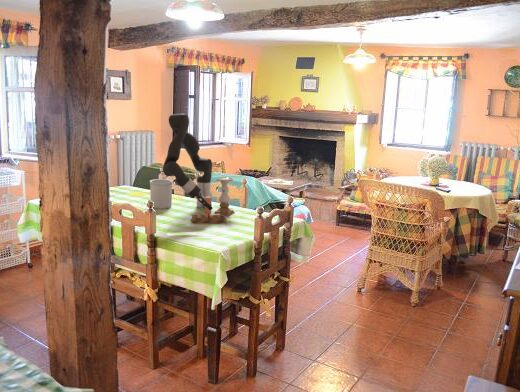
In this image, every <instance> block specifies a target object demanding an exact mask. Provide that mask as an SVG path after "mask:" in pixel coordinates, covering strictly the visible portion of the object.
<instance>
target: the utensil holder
mask: <svg viewBox="0 0 520 392" xmlns="http://www.w3.org/2000/svg"><path fill="white" fill-rule="evenodd" d="M149 187H150V188H149V190H150V192H149V194H150V201H151V200H152V201H153V202H154V208H153V209H160V210H162V209H169V208H171V207H172V204H173V203H172V200H173V199H172V198H173V180H171V179H167V178H155V179H151V180H149Z"/></svg>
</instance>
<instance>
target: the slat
mask: <svg viewBox="0 0 520 392" xmlns="http://www.w3.org/2000/svg"><path fill="white" fill-rule="evenodd" d="M205 199H206V201H207V202H208V204H209V205H210V206H211V205H212V197H205ZM205 203H206V202H205ZM211 207H212V206H211ZM204 214H208V216H209V214H212V210H209V209H208V208H207V207H206V206H205V208H204Z"/></svg>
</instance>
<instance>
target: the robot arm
mask: <svg viewBox="0 0 520 392" xmlns="http://www.w3.org/2000/svg"><path fill="white" fill-rule="evenodd" d="M168 124H169V127H170V129H171V130H172V131H173V133H174V134H175V137H173V139H172V140H171V142H170V143H169V145H168V148H167V149H168V150H167V156H166V157H165V160H164V163H163V164H162V165H163V166H162V172H163V174H164V175H165V177H171V176H174V178H175V182H176V184H177V185H178V186H180V188H181V189H182V190H183V191H184V192H185V193H186V194H187V195H188V196H189V197H190V198H191V199H194V198H196V208H199V209H200V208H201V209H205V206H206V207H207V208H208V209H209V210H211V211H212V210H213V206H212V204H211V206H210V205H209V204H208V202H207V201H206V199H205V197H211V198H212V196H213V195H212V194H213V193H212V191H211V187H212V186H211V185H212V183H211V181H212V175H213V174H212V173H213V172H212V171H213V162H212V159H210V158H206V157H201V156H200V155H199V150H200V144H199V142H198V140H197V138H196V137H195V136H194V135H193V134H192V133H190V132H188V130H189V126H190V118H189V116H188V114H186V113H174V114H171V115H170V116H169V117H168ZM182 146H183V148H184V149H185V152H187V155H188V156H189V158H190V159H191V163H192V165H193V167H194V169H195V170H196V171H197V172H201V173H203V175H201V176H198V177H197V178H196V183H195V182H194V181H193V180H192V179H191V178H190V177H188V175H186V174H185V172H184V169H183V168H182V167H181V166H180V164H179V163H178V161H179V159H180V155H181V150H182ZM205 202H206V203H205Z"/></svg>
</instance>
